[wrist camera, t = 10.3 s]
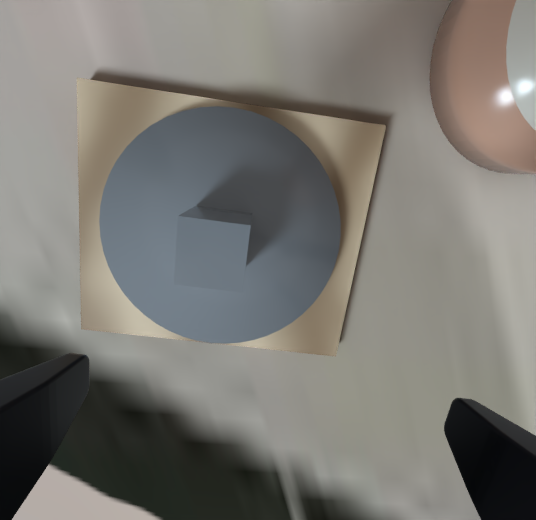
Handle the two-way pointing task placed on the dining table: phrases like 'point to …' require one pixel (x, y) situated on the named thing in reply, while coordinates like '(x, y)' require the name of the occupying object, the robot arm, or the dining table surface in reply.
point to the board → (168, 103)
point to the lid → (220, 224)
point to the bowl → (488, 82)
